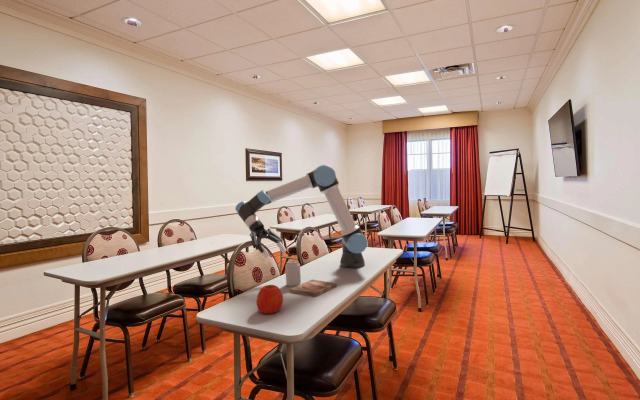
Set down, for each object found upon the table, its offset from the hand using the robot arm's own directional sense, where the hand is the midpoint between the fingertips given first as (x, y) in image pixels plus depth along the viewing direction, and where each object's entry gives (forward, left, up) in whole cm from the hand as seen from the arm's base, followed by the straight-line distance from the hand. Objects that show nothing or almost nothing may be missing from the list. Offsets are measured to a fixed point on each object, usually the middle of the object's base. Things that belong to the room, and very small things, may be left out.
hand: (276, 254), depth 180 cm
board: (+1, +24, -15) cm, 28 cm away
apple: (+33, +26, -15) cm, 44 cm away
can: (0, +11, -15) cm, 19 cm away
